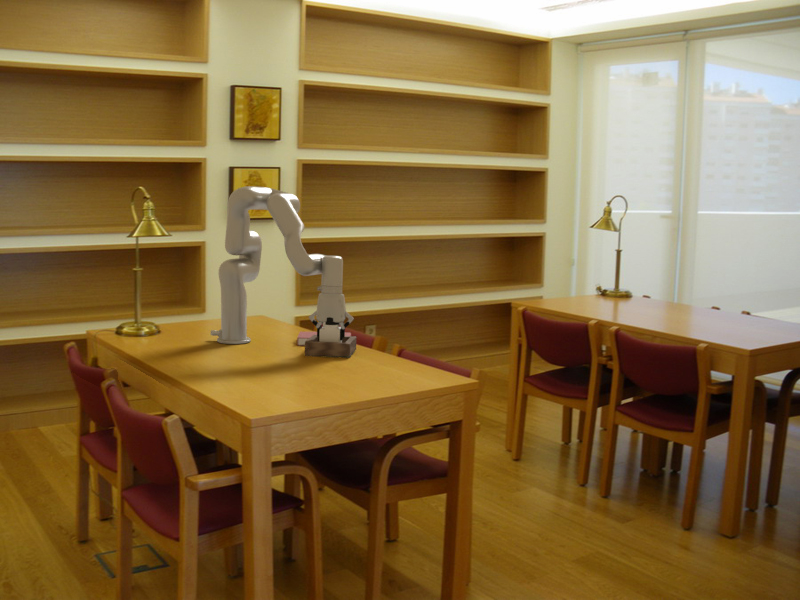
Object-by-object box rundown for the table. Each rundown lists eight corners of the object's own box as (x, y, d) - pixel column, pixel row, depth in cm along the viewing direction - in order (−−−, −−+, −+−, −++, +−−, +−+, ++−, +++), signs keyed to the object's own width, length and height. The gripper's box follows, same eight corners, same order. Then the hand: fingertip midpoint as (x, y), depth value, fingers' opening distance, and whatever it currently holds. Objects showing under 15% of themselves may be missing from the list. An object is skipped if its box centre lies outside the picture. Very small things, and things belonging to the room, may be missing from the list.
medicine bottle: (342, 346, 305) (342, 314, 303) (338, 350, 298) (339, 316, 296) (322, 345, 305) (323, 313, 304) (318, 349, 298) (319, 315, 297)
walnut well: (304, 355, 295) (304, 342, 294) (313, 347, 310) (313, 334, 310) (349, 358, 293) (349, 343, 293) (356, 349, 309) (356, 336, 308)
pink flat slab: (297, 345, 314) (297, 337, 314) (299, 339, 329) (299, 331, 328) (350, 346, 315) (350, 338, 315) (350, 340, 330) (350, 332, 329)
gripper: (305, 290, 296) (304, 339, 298) (354, 292, 295) (353, 342, 297) (309, 288, 304) (309, 336, 306) (357, 290, 302) (356, 338, 304)
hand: (330, 338), depth 301 cm, fingers closed on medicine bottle, 7 cm apart
